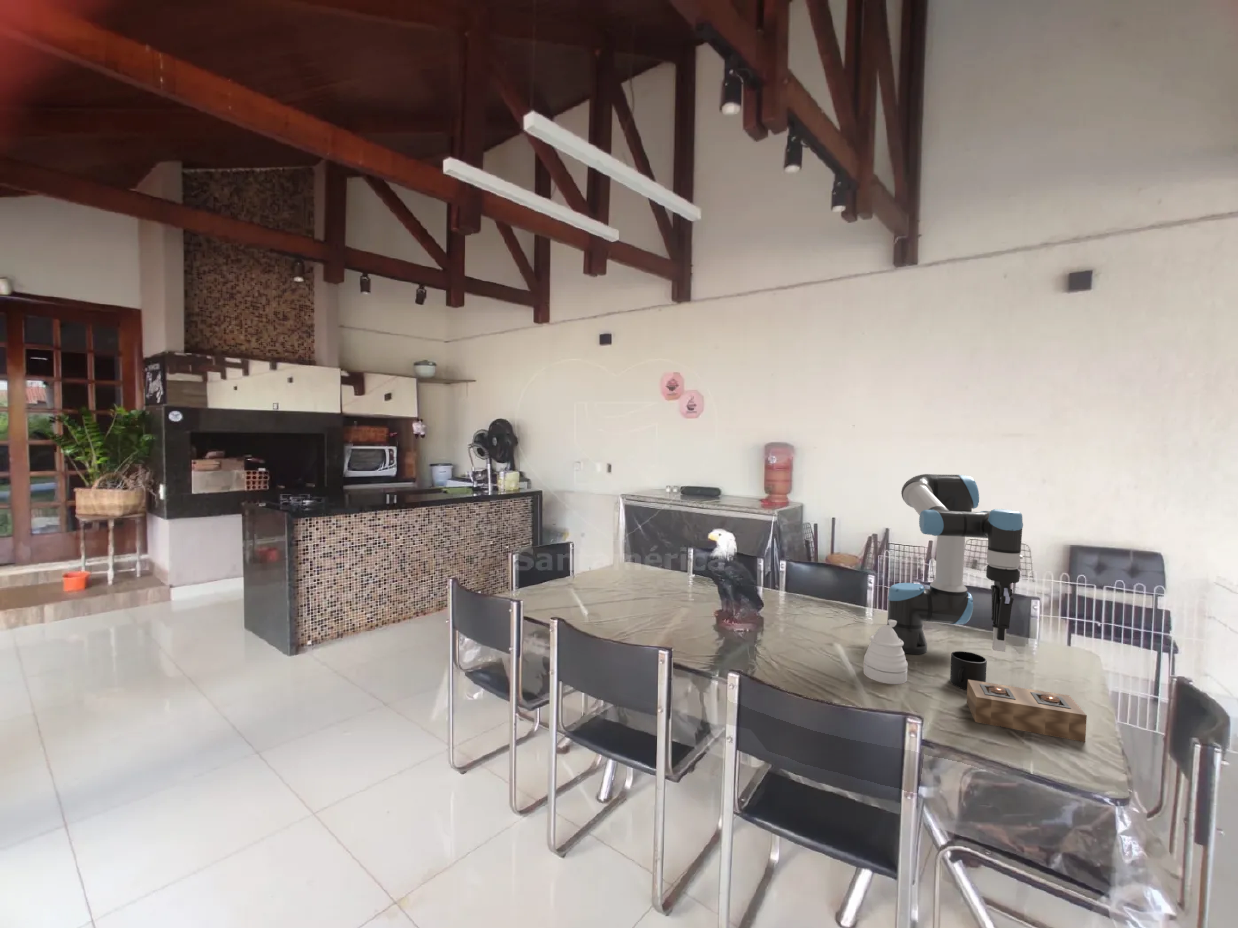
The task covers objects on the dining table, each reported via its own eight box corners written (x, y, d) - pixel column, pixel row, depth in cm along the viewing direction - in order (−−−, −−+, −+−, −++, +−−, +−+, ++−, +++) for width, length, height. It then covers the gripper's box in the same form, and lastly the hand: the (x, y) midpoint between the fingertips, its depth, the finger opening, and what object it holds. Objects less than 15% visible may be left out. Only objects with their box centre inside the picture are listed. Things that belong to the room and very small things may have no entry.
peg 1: (989, 715, 152) (990, 690, 151) (986, 708, 155) (987, 684, 155) (1006, 718, 150) (1007, 693, 150) (1002, 711, 154) (1004, 687, 154)
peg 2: (1042, 724, 147) (1043, 698, 147) (1037, 717, 151) (1038, 692, 150) (1060, 727, 146) (1062, 701, 145) (1055, 720, 149) (1056, 695, 149)
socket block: (975, 721, 150) (976, 696, 149) (966, 702, 161) (967, 678, 160) (1085, 741, 140) (1086, 714, 140) (1068, 720, 151) (1069, 694, 151)
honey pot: (889, 666, 186) (891, 614, 186) (916, 682, 174) (918, 626, 173) (855, 668, 184) (857, 615, 183) (879, 685, 172) (881, 628, 171)
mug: (941, 685, 172) (943, 657, 171) (956, 675, 179) (957, 648, 179) (976, 697, 164) (977, 667, 164) (989, 686, 172) (991, 657, 172)
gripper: (1026, 573, 144) (1021, 661, 145) (1013, 562, 156) (1008, 643, 157) (992, 569, 146) (988, 656, 148) (981, 559, 158) (977, 639, 160)
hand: (998, 649), depth 152 cm, fingers closed
